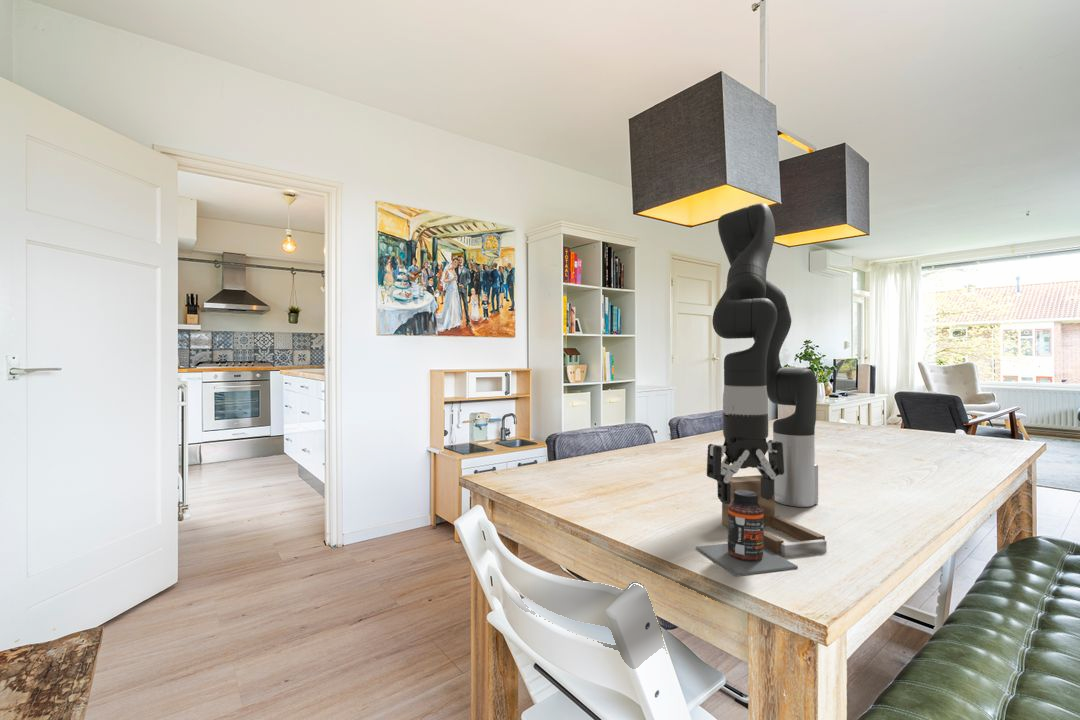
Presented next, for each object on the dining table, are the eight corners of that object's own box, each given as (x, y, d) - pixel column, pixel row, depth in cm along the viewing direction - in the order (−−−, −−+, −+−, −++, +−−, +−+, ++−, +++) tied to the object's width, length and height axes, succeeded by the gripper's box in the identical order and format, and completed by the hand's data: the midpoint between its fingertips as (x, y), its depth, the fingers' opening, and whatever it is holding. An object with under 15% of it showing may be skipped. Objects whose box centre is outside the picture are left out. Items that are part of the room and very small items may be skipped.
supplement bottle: (746, 564, 84) (745, 498, 84) (720, 552, 90) (720, 490, 90) (771, 558, 87) (771, 494, 87) (745, 547, 92) (744, 486, 92)
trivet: (751, 542, 95) (751, 540, 95) (797, 568, 84) (797, 566, 84) (696, 548, 92) (696, 546, 92) (736, 575, 81) (736, 573, 81)
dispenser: (763, 520, 109) (763, 475, 109) (830, 551, 91) (830, 497, 91) (720, 524, 106) (720, 478, 106) (781, 557, 88) (780, 501, 88)
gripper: (764, 407, 93) (765, 492, 93) (698, 409, 90) (698, 498, 90) (794, 411, 86) (795, 503, 86) (722, 414, 83) (723, 510, 83)
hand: (745, 500), depth 88 cm, fingers open, 8 cm apart
